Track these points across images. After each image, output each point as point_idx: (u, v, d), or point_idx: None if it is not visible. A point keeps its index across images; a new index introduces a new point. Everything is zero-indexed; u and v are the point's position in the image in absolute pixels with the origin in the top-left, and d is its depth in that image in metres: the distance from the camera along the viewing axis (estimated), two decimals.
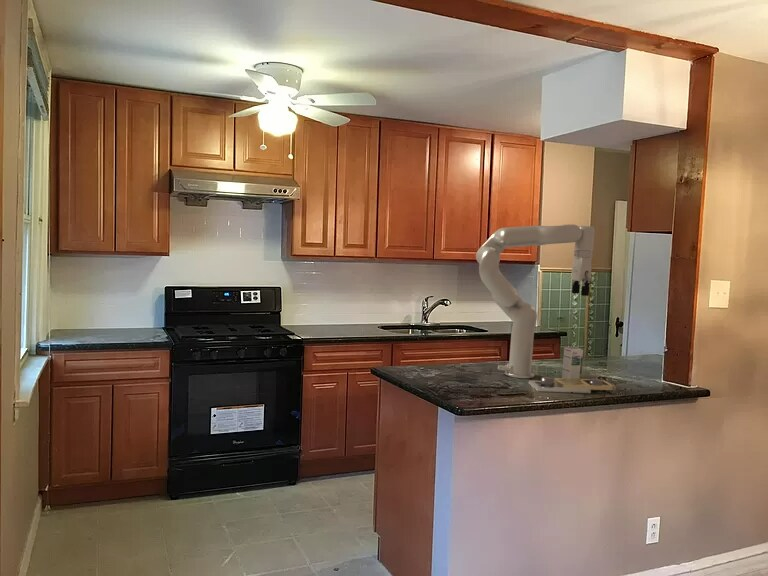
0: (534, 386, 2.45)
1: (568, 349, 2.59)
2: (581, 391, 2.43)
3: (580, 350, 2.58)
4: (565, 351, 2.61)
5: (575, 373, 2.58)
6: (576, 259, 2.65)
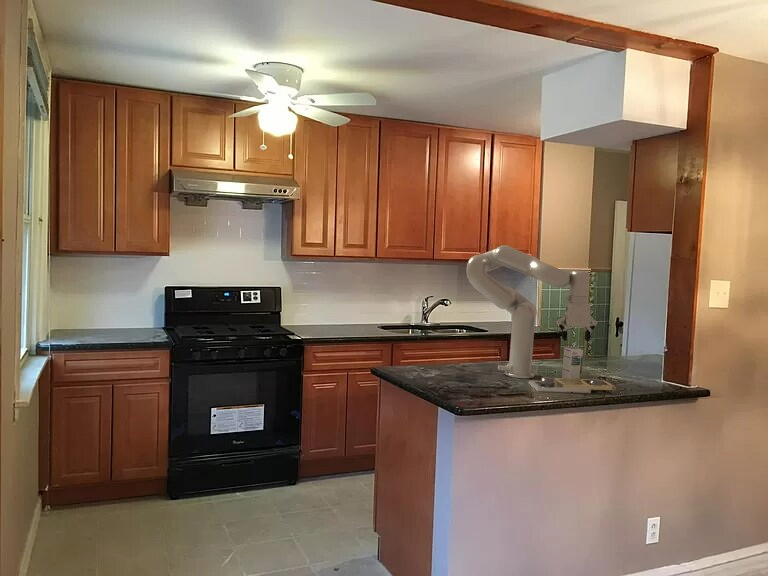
0: (534, 386, 2.45)
1: (568, 349, 2.59)
2: (581, 391, 2.43)
3: (580, 350, 2.58)
4: (565, 351, 2.61)
5: (575, 373, 2.58)
6: (579, 305, 2.56)
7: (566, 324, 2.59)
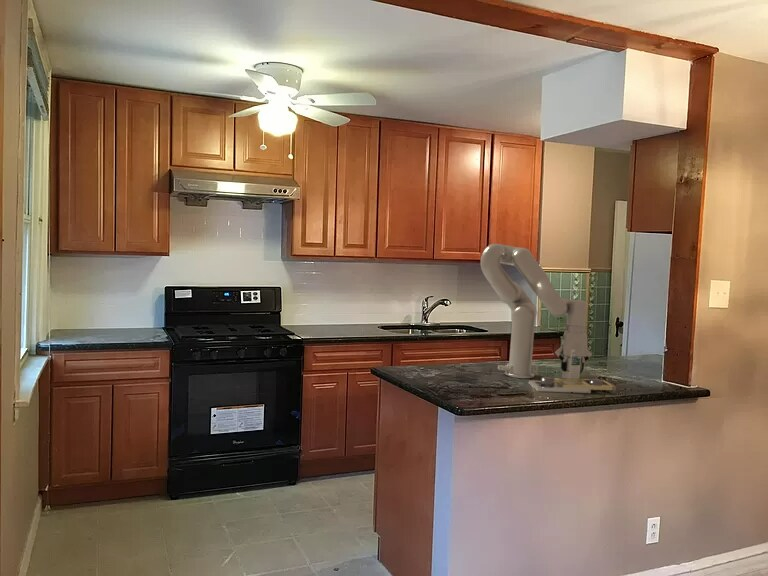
0: (534, 386, 2.45)
1: None
2: (581, 391, 2.43)
3: None
4: None
5: (575, 373, 2.58)
6: (576, 335, 2.57)
7: (564, 354, 2.60)
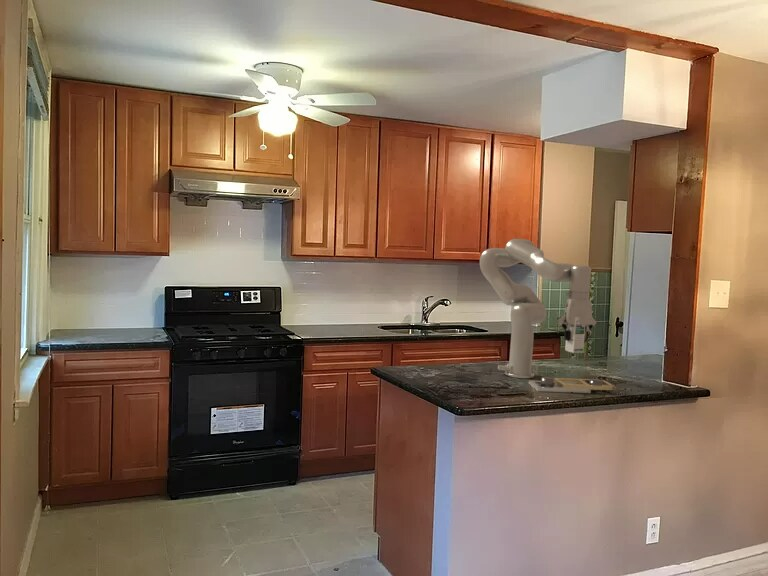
0: (534, 386, 2.45)
1: None
2: (581, 391, 2.43)
3: None
4: None
5: (579, 343, 2.45)
6: (580, 302, 2.44)
7: (568, 323, 2.46)
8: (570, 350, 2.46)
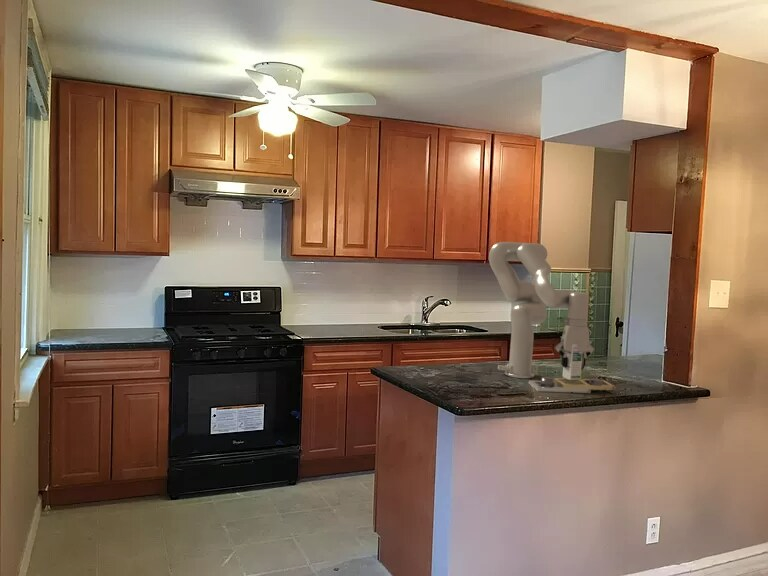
0: (534, 386, 2.45)
1: None
2: (581, 391, 2.43)
3: None
4: None
5: (577, 370, 2.45)
6: (577, 329, 2.43)
7: (565, 350, 2.46)
8: (567, 377, 2.46)
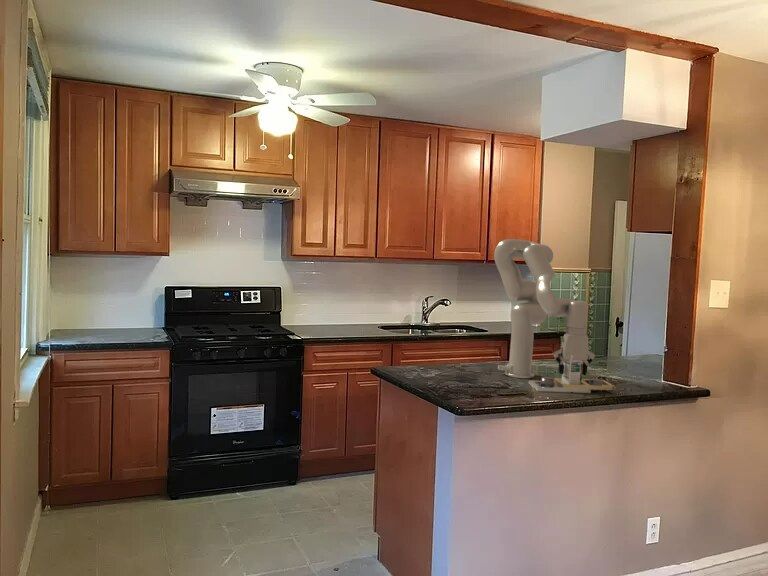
0: (534, 386, 2.45)
1: None
2: (581, 391, 2.43)
3: None
4: None
5: (575, 380, 2.45)
6: (577, 337, 2.44)
7: (563, 357, 2.46)
8: None
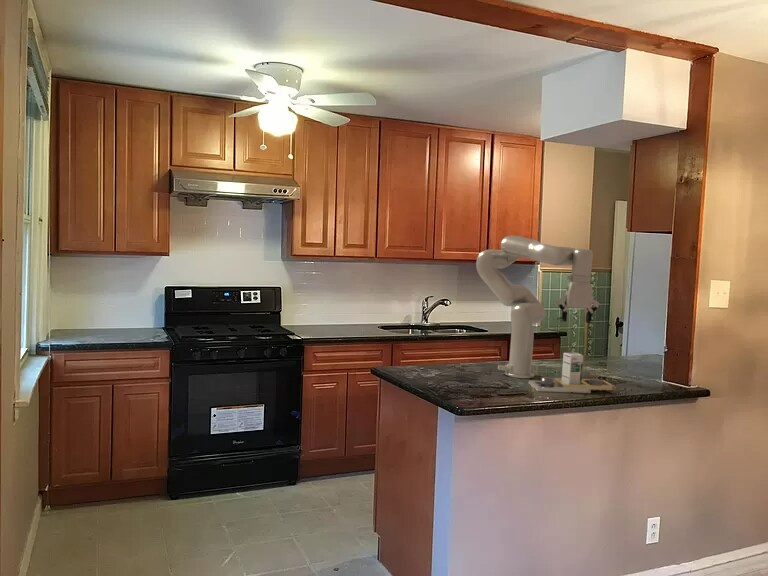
0: (534, 386, 2.45)
1: (567, 355, 2.46)
2: (581, 391, 2.43)
3: (580, 356, 2.45)
4: (564, 357, 2.48)
5: (575, 380, 2.45)
6: (581, 285, 2.45)
7: (566, 304, 2.48)
8: None
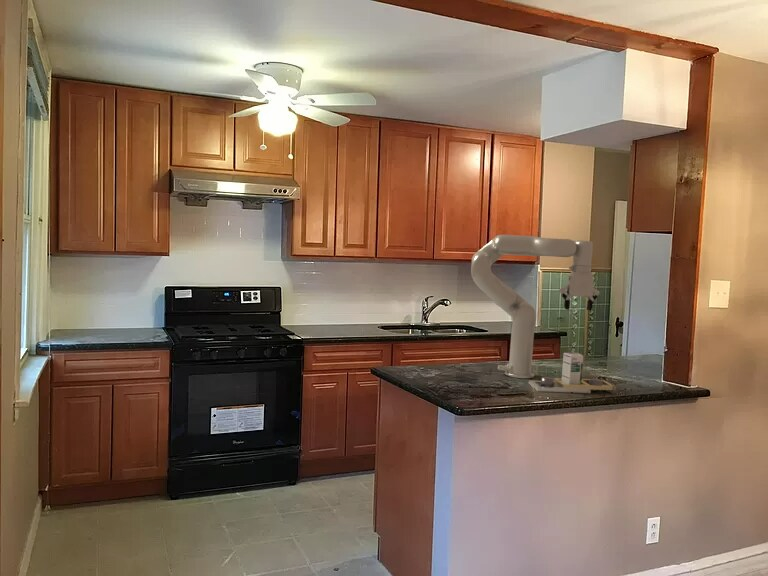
0: (534, 386, 2.45)
1: (567, 355, 2.46)
2: (581, 391, 2.43)
3: (580, 356, 2.45)
4: (564, 357, 2.48)
5: (575, 380, 2.45)
6: (582, 275, 2.59)
7: (569, 293, 2.62)
8: None
